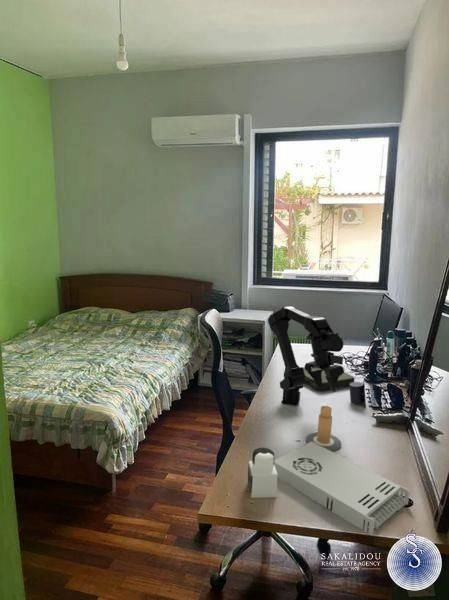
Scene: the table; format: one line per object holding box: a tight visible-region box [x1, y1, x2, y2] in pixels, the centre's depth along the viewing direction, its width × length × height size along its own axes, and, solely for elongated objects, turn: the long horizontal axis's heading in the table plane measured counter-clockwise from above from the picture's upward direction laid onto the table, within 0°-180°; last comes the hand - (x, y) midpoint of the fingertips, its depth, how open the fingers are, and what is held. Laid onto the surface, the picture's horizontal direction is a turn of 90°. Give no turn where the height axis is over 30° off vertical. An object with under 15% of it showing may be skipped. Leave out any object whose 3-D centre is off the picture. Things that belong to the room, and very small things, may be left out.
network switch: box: [303, 366, 356, 392], centre depth 205 cm, size 23×24×5 cm
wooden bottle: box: [316, 405, 333, 444], centre depth 146 cm, size 4×4×12 cm
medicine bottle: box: [247, 447, 279, 499], centre depth 119 cm, size 7×7×12 cm
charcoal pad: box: [305, 431, 342, 452], centre depth 147 cm, size 12×12×1 cm
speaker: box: [349, 379, 367, 409], centre depth 180 cm, size 8×6×10 cm
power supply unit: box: [274, 442, 410, 537], centre depth 122 cm, size 19×33×5 cm, turn 41°
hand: (327, 389), depth 163 cm, fingers open, 9 cm apart
